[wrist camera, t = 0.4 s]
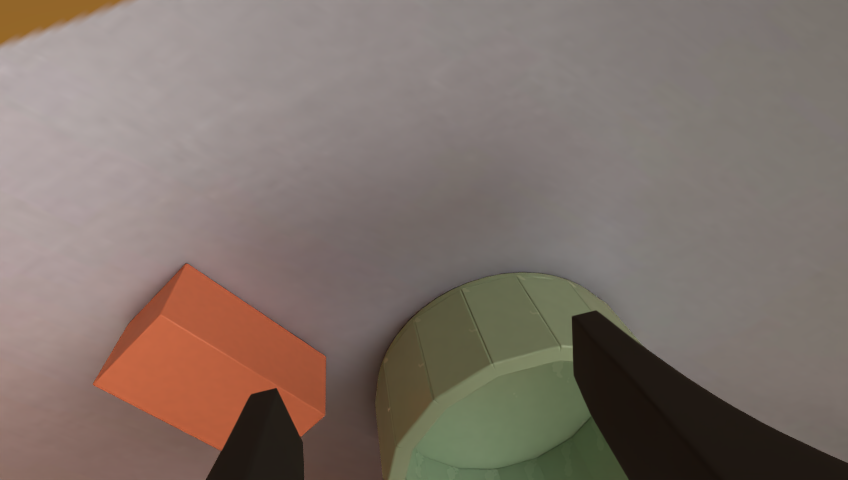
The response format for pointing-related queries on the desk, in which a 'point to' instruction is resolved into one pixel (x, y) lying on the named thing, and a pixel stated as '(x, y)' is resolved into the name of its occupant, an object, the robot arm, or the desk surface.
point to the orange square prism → (211, 361)
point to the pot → (492, 387)
